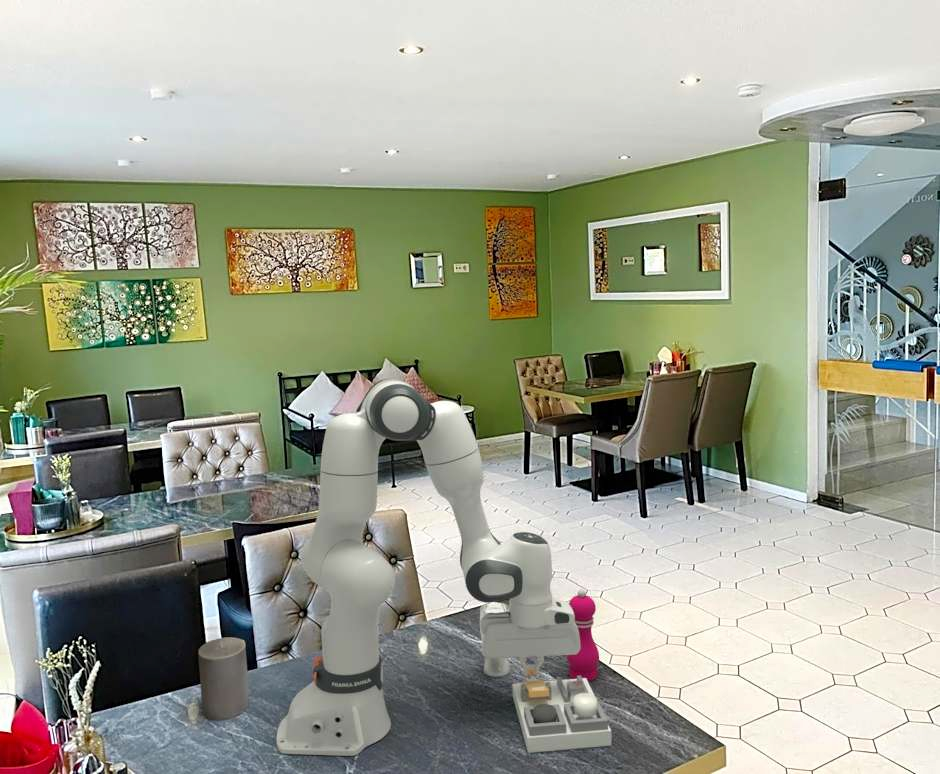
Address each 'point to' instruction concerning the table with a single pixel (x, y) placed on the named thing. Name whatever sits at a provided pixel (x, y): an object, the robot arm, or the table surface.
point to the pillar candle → (223, 678)
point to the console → (560, 720)
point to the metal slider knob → (574, 689)
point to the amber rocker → (536, 688)
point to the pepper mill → (584, 638)
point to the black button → (544, 713)
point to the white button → (585, 705)
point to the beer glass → (491, 666)
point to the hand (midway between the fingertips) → (531, 674)
